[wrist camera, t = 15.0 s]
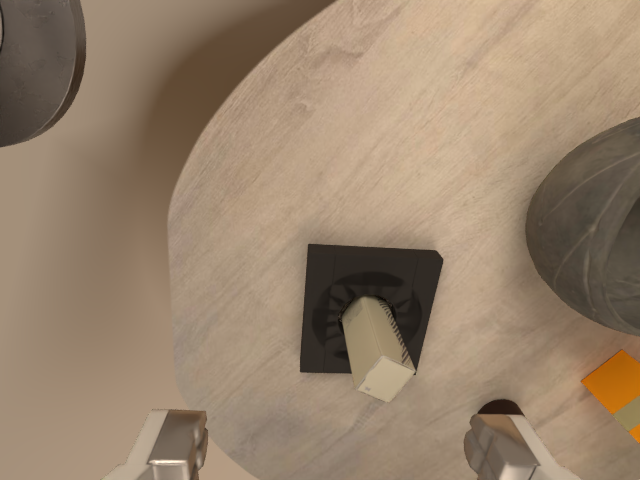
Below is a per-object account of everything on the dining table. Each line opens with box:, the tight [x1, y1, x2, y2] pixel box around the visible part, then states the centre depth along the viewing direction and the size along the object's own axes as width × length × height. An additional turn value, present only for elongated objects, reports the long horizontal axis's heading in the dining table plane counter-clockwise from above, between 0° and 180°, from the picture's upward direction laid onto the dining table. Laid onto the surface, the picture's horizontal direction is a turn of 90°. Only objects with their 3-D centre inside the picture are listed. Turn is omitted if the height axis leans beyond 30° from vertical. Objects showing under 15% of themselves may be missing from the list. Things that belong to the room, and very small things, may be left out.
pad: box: [300, 244, 443, 375], centre depth 45 cm, size 16×18×2 cm
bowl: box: [526, 117, 640, 336], centre depth 35 cm, size 21×21×15 cm
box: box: [341, 294, 416, 403], centre depth 40 cm, size 5×4×13 cm
